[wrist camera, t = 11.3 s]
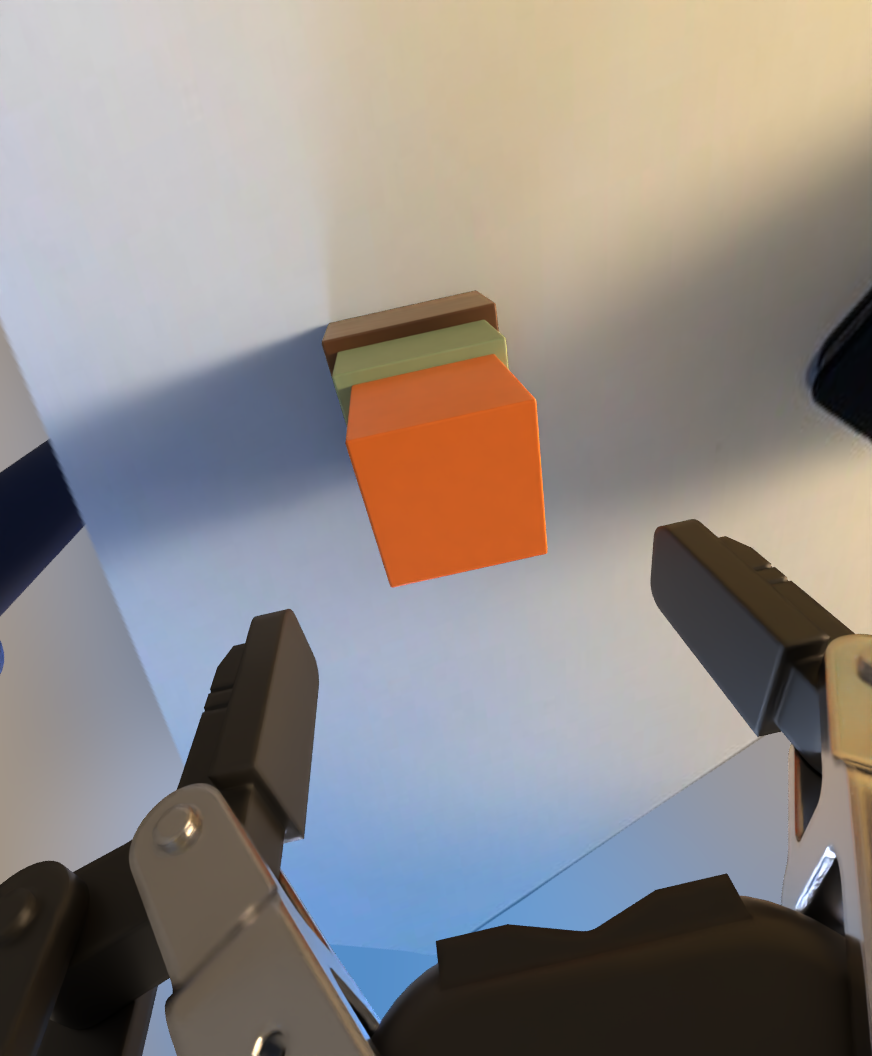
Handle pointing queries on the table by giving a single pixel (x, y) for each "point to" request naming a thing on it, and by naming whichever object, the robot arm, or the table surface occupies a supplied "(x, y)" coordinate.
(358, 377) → the green block
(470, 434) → the toy cube
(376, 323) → the walnut block
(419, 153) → the table surface
